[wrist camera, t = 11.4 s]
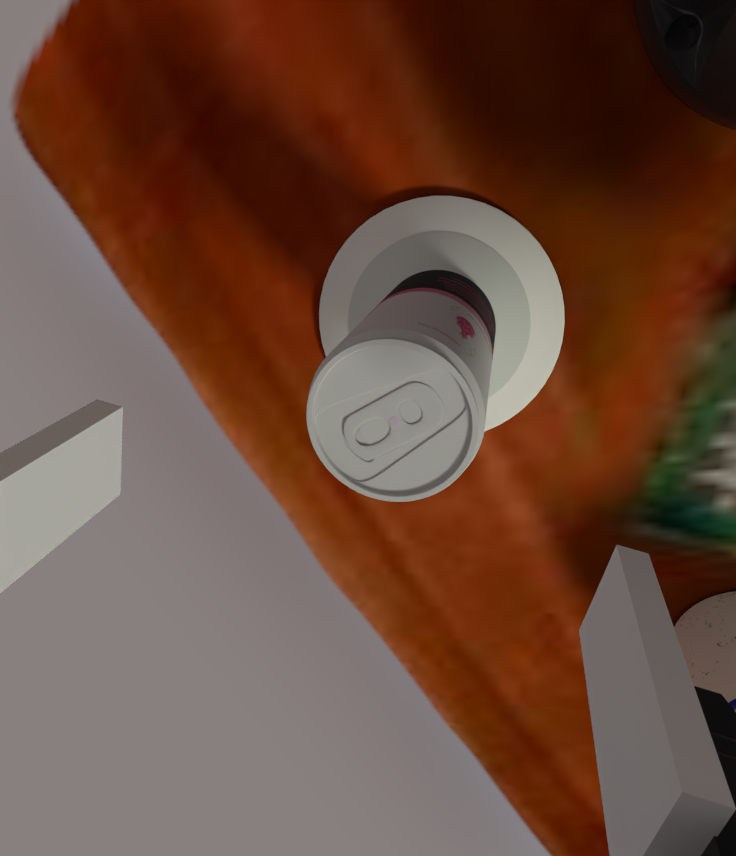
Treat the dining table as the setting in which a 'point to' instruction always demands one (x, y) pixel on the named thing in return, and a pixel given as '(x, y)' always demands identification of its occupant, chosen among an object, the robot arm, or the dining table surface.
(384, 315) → the beverage can
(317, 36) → the dining table surface
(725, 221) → the dining table surface
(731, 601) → the teacup with lid
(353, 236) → the plate
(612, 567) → the robot arm
